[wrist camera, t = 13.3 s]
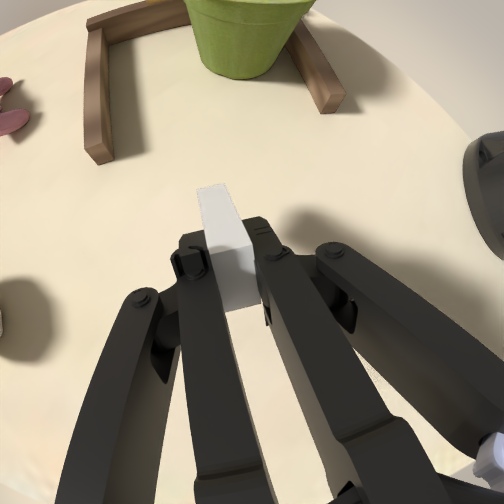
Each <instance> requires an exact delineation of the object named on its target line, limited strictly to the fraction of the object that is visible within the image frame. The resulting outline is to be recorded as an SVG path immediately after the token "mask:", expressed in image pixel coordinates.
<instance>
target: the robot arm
mask: <svg viewBox="0 0 504 504" xmlns="http://www.w3.org/2000/svg"><path fill="white" fill-rule="evenodd" d="M463 180H464V187H465V192H466V196H467V200H468V204H469V207H470V210H471V213H472V216H473V218H474V221H475V223H476V225H477V228H478V230H479V232H480V234H481V235H482V237H483V239H484V240H485V242H486V244H487V245H488V246H489V248H490V249H491V250H492V251H493V252H494V253H495V254H496V255H497V256H498V257H499V258H501V259H502V260H504V131H500V132H494V133H488V134H485V135H483V136H481V137H480V138H478V139H476V140H475V141H473V142H472V143H471V144H470V145H469V146H468V147H467V149H466V151H465V154H464V159H463ZM197 195H198V200H199V206H200V211H201V217H202V222H203V227H204V230H200V231H196V232H192V233H188V234H183V235H182V237H181V239H180V240H179V249H177V250H175V252H174V253H173V254H172V255H171V258H170V260H171V263H172V266H173V269H174V272H175V275H176V278H177V282H176V283H175V284H174V285H173V286H172V287H170V288H168V289H167V290H165V291H162V292H160V293H158V292H157V290H155V289H153V288H149V287H145V288H140V289H137V290H135V291H133V292H132V293H130V294H129V295H128V296H127V297H126V299H125V300H124V302H123V304H122V306H121V309H120V311H119V313H118V315H117V318H116V320H115V322H114V324H113V327H112V329H111V331H110V334H109V336H108V338H107V341H106V343H105V346H104V348H103V351H102V353H101V356H100V358H99V361H98V363H97V366H96V368H95V371H94V374H93V376H92V379H91V382H90V384H89V387H88V390H87V393H86V395H85V398H84V401H83V404H82V407H81V410H80V413H79V416H78V419H77V422H76V425H75V428H74V431H73V435H72V438H71V441H70V445H69V448H68V451H67V455H66V459H65V462H64V466H63V470H62V474H61V478H60V482H59V486H58V490H57V494H56V499H55V504H154V500H155V492H156V485H157V478H158V471H159V465H160V459H161V452H162V446H163V440H164V434H165V429H166V423H167V417H168V412H169V406H170V401H171V396H172V391H173V385H174V380H175V375H176V370H177V366H178V361H179V356H180V351H181V352H182V363H183V373H184V382H185V391H186V400H187V408H188V415H189V423H190V430H191V436H192V443H193V449H194V456H195V462H196V467H197V477H196V479H195V481H194V496H195V502H196V504H279V503H278V500H277V497H276V494H275V491H274V488H273V485H272V482H271V479H270V476H269V473H268V469H267V466H266V463H265V460H264V456H263V453H262V450H261V446H260V443H259V439H258V436H257V432H256V429H255V425H254V422H253V418H252V415H251V411H250V408H249V404H248V400H247V397H246V393H245V389H244V386H243V382H242V378H241V374H240V371H239V367H238V363H237V359H236V355H235V351H234V347H233V343H232V339H231V335H230V331H229V327H228V323H227V319H226V316H225V312H229V311H233V310H237V309H241V308H245V307H249V306H253V305H257V304H261V299H262V302H263V307H264V314H265V321H266V326H268V325H269V326H270V329H271V331H272V334H273V337H274V339H275V342H276V345H277V347H278V350H279V352H280V355H281V358H282V360H283V363H284V365H285V368H286V371H287V373H288V376H289V378H290V381H291V383H292V386H293V389H294V391H295V394H296V396H297V399H298V402H299V404H300V407H301V409H302V412H303V414H304V417H305V419H306V422H307V425H308V427H309V430H310V432H311V435H312V437H313V440H314V442H315V445H316V447H317V450H318V452H319V455H320V458H321V460H322V463H323V465H324V468H325V472H326V478H327V482H328V485H329V488H330V491H331V493H332V496H333V498H334V500H333V501H331V502H329V503H328V504H504V362H503V361H502V360H501V359H500V358H499V357H497V356H496V355H495V354H494V353H493V352H491V351H490V350H489V349H488V348H487V347H485V346H484V345H483V344H482V343H480V342H479V341H478V340H477V339H475V338H474V337H473V336H472V335H470V334H469V333H468V332H467V331H465V330H464V329H463V328H462V327H460V326H459V325H458V324H456V323H455V322H454V321H453V320H451V319H450V318H449V317H447V316H446V315H445V314H443V313H442V312H441V311H439V310H438V309H437V308H435V307H434V306H433V305H431V304H430V303H429V302H427V301H426V300H425V299H423V298H422V297H421V296H419V295H418V294H416V293H415V292H414V291H412V290H411V289H410V288H408V287H407V286H405V285H404V284H403V283H401V282H400V281H398V280H397V279H396V278H394V277H393V276H391V275H390V274H389V273H387V272H386V271H384V270H383V269H381V268H380V267H378V266H377V265H376V264H374V263H373V262H371V261H370V260H368V259H367V258H365V257H364V256H362V255H361V254H359V253H358V252H356V251H355V250H354V249H352V248H351V247H349V246H347V245H345V244H343V243H338V242H328V243H324V244H322V245H320V246H319V247H318V248H317V249H316V255H296V254H294V252H293V251H292V250H291V249H290V248H289V247H287V246H284V245H282V244H281V242H280V241H279V239H278V237H277V236H276V234H275V232H274V231H273V229H272V228H271V227H270V224H269V223H268V221H267V220H266V219H264V218H262V217H260V216H258V217H253V218H249V219H244V220H241V218H240V216H239V214H238V212H237V210H236V207H235V205H234V203H233V201H232V199H231V197H230V194H229V192H228V190H227V188H226V186H225V183H222V184H218V185H213V186H209V187H204V188H200V189H197ZM260 296H261V298H260ZM352 347H353V348H354V349H355V350H356V351H357V352H358V353H359V354H360V355H361V356H362V357H363V358H364V359H365V360H366V361H367V362H368V363H369V364H370V365H371V366H372V367H373V368H374V369H375V370H376V371H377V372H378V373H379V374H380V375H381V376H382V377H383V378H384V379H385V380H386V381H387V382H388V383H389V384H390V385H391V386H392V387H393V388H394V389H395V390H396V391H397V392H398V393H399V394H400V395H401V396H402V397H403V398H404V399H405V400H407V401H408V402H409V403H410V404H411V405H412V406H413V407H414V408H415V409H416V410H417V411H418V412H419V413H420V414H421V415H422V416H423V417H424V418H425V419H426V420H427V421H428V422H429V423H430V424H431V425H432V426H433V427H434V428H435V429H436V430H437V431H438V432H439V433H440V434H441V435H442V436H443V437H444V438H445V439H446V440H447V441H448V442H449V443H450V444H451V445H453V446H454V447H455V448H456V449H458V450H459V451H461V452H462V453H464V454H465V455H467V456H469V457H471V458H473V459H475V460H476V462H475V464H474V466H473V474H474V475H475V476H476V477H478V478H481V477H482V478H483V479H484V480H486V481H487V482H488V484H489V485H490V487H491V489H487V488H483V487H480V486H476V485H473V484H470V483H467V482H464V481H460V480H458V479H455V478H452V477H449V476H446V475H443V474H440V473H437V472H436V471H435V469H434V467H433V465H432V463H431V461H430V460H429V458H428V456H427V454H426V452H425V450H424V449H423V447H422V445H421V443H420V441H419V440H418V438H417V436H416V434H415V433H414V431H413V429H412V428H411V426H410V425H409V423H408V422H407V421H406V420H404V419H403V418H402V417H397V416H394V415H392V414H391V413H390V411H389V410H388V408H387V407H386V405H385V403H384V401H383V399H382V398H381V396H380V394H379V392H378V391H377V389H376V387H375V385H374V384H373V382H372V380H371V379H370V377H369V375H368V373H367V372H366V370H365V368H364V366H363V365H362V363H361V361H360V360H359V358H358V356H357V355H356V353H355V351H354V350H353V348H352Z"/></svg>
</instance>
